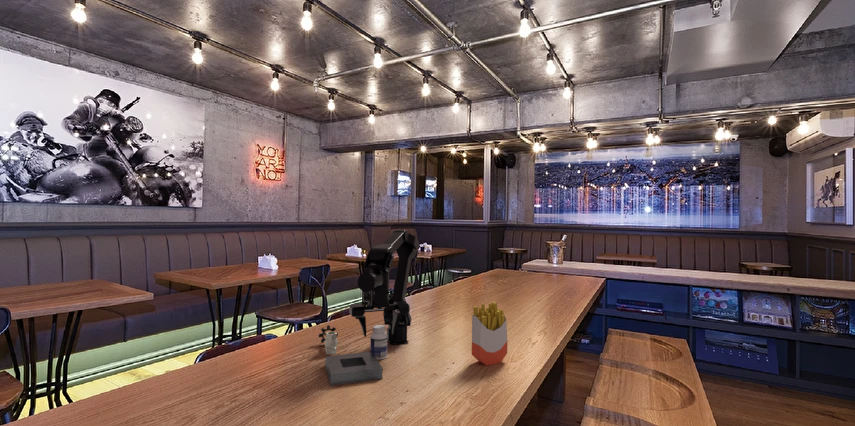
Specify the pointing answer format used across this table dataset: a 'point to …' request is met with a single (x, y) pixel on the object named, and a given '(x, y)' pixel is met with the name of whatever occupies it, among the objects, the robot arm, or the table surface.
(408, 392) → the table surface
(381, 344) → the pill bottle
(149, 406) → the table surface
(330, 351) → the valve
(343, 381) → the holder
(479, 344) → the french fries container
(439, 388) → the table surface
